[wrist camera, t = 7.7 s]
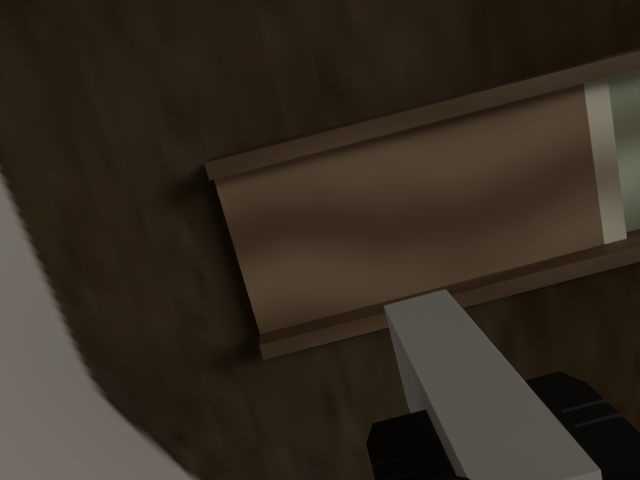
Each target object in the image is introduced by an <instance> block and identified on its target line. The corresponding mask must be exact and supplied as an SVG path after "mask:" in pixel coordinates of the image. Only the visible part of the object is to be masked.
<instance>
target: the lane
mask: <svg viewBox="0 0 640 480" xmlns="http://www.w3.org/2000/svg"><path fill="white" fill-rule="evenodd" d="M204 164H205V167H206V171H207V174H208V177H209V180H213V179H214V182H215V185H216V188H217V192H218V195H219V198H220V202H221V205H222V208H223V212H224V215H225V218H226V222H227V225H228V228H229V232H230V235H231V239H232V242H233V245H234V249H235V252H236V255H237V259H238V262H239V265H240V269H241V272H242V275H243V279H244V282H245V285H246V289H247V292H248V296H249V299H250V302H251V306H252V309H253V312H254V316H255V319H256V322H257V326H258V329H259V332H260V340H259V347H260V350H261V354H262V357H263V360H265V359H269V358H273V357H277V356H280V355H284V354H288V353H292V352H296V351H300V350H303V349H307V348H311V347H315V346H319V345H323V344H326V343H330V342H334V341H338V340H342V339H345V338H349V337H353V336H357V335H361V334H365V333H368V332H372V331H376V330H380V329H384V328H388V327H389V326H388V322H387V318H386V314H385V309H384V306H385V305H388V304H392V303H396V302H399V301H403V300H407V299H411V298H414V297H418V296H422V295H426V294H429V293H433V292H437V291H441V290H444V289H446V290H447V291H448V292H449V293H450V295H451V296H452V297H453V298H454V299H455V300H456V302H457V303H458V304H459V305H460V306H461V307H462V308H464V307H468V306H472V305H476V304H479V303H483V302H487V301H491V300H495V299H498V298H502V297H506V296H510V295H514V294H518V293H521V292H525V291H529V290H533V289H537V288H541V287H544V286H548V285H552V284H556V283H560V282H564V281H567V280H571V279H575V278H579V277H583V276H586V275H590V274H594V273H598V272H602V271H606V270H609V269H613V268H617V267H621V266H625V265H629V264H632V263H636V262H640V47H639V48H635V49H631V50H627V51H623V52H619V53H615V54H612V55H608V56H604V57H600V58H596V59H592V60H588V61H585V62H581V63H577V64H573V65H569V66H565V67H561V68H558V69H554V70H550V71H546V72H542V73H538V74H534V75H531V76H527V77H523V78H519V79H515V80H511V81H507V82H504V83H500V84H496V85H492V86H488V87H484V88H480V89H476V90H473V91H469V92H465V93H461V94H457V95H453V96H449V97H446V98H442V99H438V100H434V101H430V102H426V103H422V104H419V105H415V106H411V107H407V108H403V109H399V110H395V111H392V112H388V113H384V114H380V115H376V116H372V117H368V118H364V119H361V120H357V121H353V122H349V123H345V124H341V125H337V126H334V127H330V128H326V129H322V130H318V131H314V132H310V133H307V134H303V135H299V136H295V137H291V138H287V139H283V140H280V141H276V142H272V143H268V144H264V145H260V146H256V147H253V148H249V149H245V150H241V151H237V152H233V153H229V154H225V155H222V156H218V157H214V158H211V159H209V160H208V161H207V162H205V163H204Z"/></svg>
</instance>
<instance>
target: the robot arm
mask: <svg viewBox="0 0 640 480" xmlns="http://www.w3.org/2000/svg"><path fill="white" fill-rule="evenodd" d="M384 309H385V314H386V318H387V322H388V326H389V330H390V334H391V338H392V342H393V346H394V350H395V354H396V358H397V363H398V367H399V371H400V375H401V379H402V383H403V387H404V391H405V395H406V399H407V403H408V407H409V410H410V412H411V413H410V414H406V415H403V416H399V417H395V418H391V419H388V420H384V421H380V422H377V423H373V425H372V428H371V431H370V434H369V437H368V440H367V443H366V444H367V449H368V453H369V457H370V461H371V465H372V469H373V473H374V477H375V480H640V433H639V432H638V431H637V430H636V429H635V428H634V427H633V426H632V425H631V424H630V423H629V422H628V421H627V420H626V419H624V418H623V417H620V416H619V413H618V412H617V411H616V410H615V409H614V408H613V407H612V406H611V405H610V404H608V403H607V402H606V403H605V402H604V399H603V398H602V397H601V396H600V395H599V394H598V393H597V392H596V391H595V390H594V389H592V388H591V387H590V386H589V385H588V384H587V383H586V382H584V381H582V380H579V379H577V378H574V377H572V376H570V375H567V374H565V373H563V372H560V371H559V372H555V373H552V374H548V375H544V376H541V377H537V378H533V379H529V380H526V381H524V380H523V379H522V378H521V376H520V375H519V374H518V373H517V372H516V371H515V369H514V368H513V367H512V366H511V365H510V364H509V362H508V361H507V360H506V359H505V358H504V356H503V355H502V354H501V353H500V352H499V351H498V349H497V348H496V347H495V346H494V345H493V344H492V342H491V341H490V340H489V339H488V338H487V337H486V335H485V334H484V333H483V332H482V331H481V330H480V328H479V327H478V326H477V325H476V324H475V323H474V321H473V320H472V319H471V318H470V317H469V316H468V314H467V313H466V312H465V311H464V310H463V309H462V307H461V306H460V305H459V304H458V303H457V302H456V300H455V299H454V298H453V297H452V296H451V295H450V293H449V292H448V291H447V290H446V289H444V290H441V291H437V292H433V293H429V294H426V295H422V296H418V297H414V298H411V299H407V300H403V301H399V302H396V303H392V304H388V305H385V306H384Z"/></svg>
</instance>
